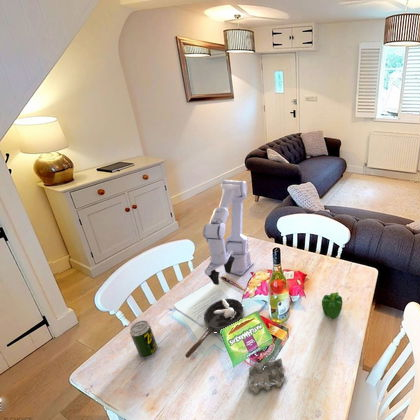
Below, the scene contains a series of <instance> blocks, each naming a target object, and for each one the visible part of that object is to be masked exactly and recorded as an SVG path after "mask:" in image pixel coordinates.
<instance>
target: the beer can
mask: <svg viewBox="0 0 420 420" xmlns="http://www.w3.org/2000/svg"><path fill="white" fill-rule="evenodd" d="M129 334H130V336H131V339H132V342H133V343H134V346H135V349H136V351H137V353H138V356H139V357H140V358H142V359H148V358H151V357H152V356H153V355H155V354H156V352H157V350H158V344H157V340H156V337H155V335H154V332H153V329H152V328H151V324H150V322H148V320H139V321H137V322H135V323H133V324H132V325H131V326H130V328H129Z"/></svg>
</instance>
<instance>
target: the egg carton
mask: <svg viewBox="0 0 420 420" xmlns="http://www.w3.org/2000/svg"><path fill="white" fill-rule="evenodd" d="M264 366H267V367H265V368H264ZM263 368H264V370H263ZM284 372H285V371H284V366H283V360H282V358H278V359H274V360H267V361H262V362H256V363H253V364H252V365H251V366H250V367H249V368H248V383H249V388H250V389H249V390H250V391H252V392H254V393H255V394H258V393H259V392H260V390H261V389H263V388H264V389H265V390H266V391H268V390H270V389H271V387H272V386H273V385H275V386H276V387H277V388H280V387H281V386H282V385H283V383H284V382H285V373H284Z"/></svg>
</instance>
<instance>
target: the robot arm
mask: <svg viewBox="0 0 420 420" xmlns="http://www.w3.org/2000/svg"><path fill="white" fill-rule="evenodd" d="M220 190H221V194H222V195H221V197H220V201H219V205H218V206H217V207H215V208H214V209H213V213H212V214H211V216H210V220H209V222H208V223H206V224H204V226H203V230H202V236H203V238H204V239H205V242H206V243H208V250H209V254H210V258H209V261H210V262H209V264H208V266H207V267H206V268H205V269H204V275H206V276H208V278H209V279H210V280H211V281H212V284H213V285H216V286H219V284H220V280H219V279H220V277H219V276H220V273H221V272H220V271H217V269H218V268H221V267H222V266H223V268H224V271H225V273H227V274H235V275H238V276H242V275H244V273H246V272H247V270H249V269H250V267H252V265H253V262H252V261H251V260H252V259H251V253H250V251H249V239H248V237H246V236H245V235H244V234H243V219H244V218H243V216H244V215H243V212H244V200H245V199H247V197H248V184H247V181H246V180H232V179H231V180H230V179H223V181H221V184H220ZM230 206H231V222H230V223H231V224H230V235H228V236H227V237H225V235H226V228H227V225H226V223H227V221H228V218H229V216H230V212H229V208H230ZM224 237H225V239H224Z"/></svg>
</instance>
